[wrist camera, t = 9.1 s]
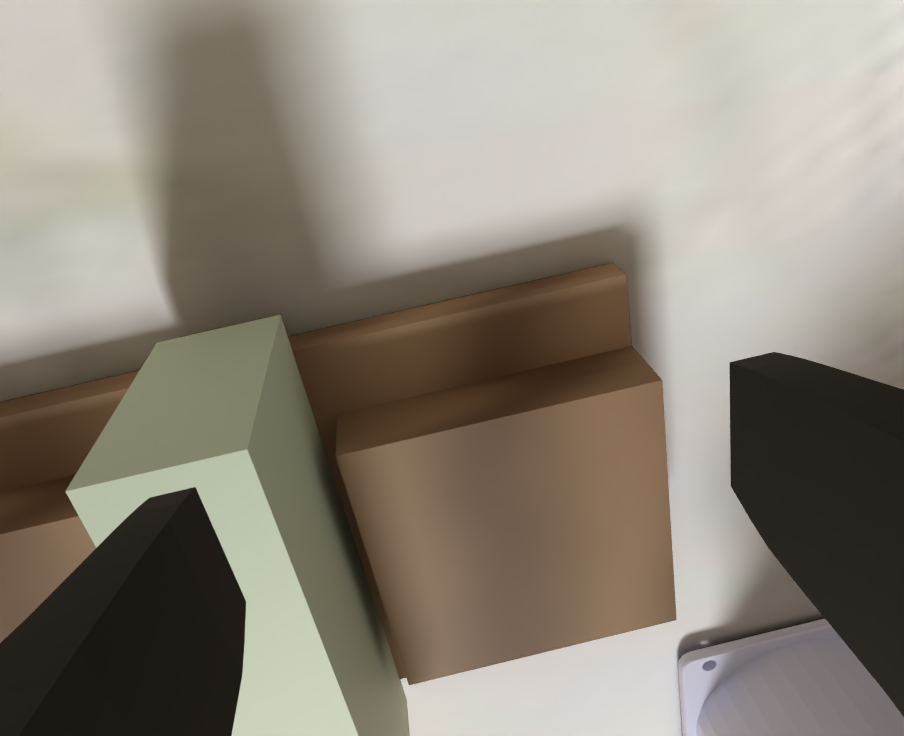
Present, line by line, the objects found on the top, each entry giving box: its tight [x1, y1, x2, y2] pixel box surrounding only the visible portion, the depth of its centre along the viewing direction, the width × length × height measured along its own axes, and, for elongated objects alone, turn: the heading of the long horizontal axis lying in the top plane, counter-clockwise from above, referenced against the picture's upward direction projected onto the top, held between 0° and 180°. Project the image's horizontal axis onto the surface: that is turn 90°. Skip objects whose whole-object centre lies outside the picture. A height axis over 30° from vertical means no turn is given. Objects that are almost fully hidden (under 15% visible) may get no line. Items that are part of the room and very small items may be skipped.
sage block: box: [65, 315, 410, 736], centre depth 17 cm, size 14×3×6 cm, turn 11°
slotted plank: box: [0, 263, 676, 685], centre depth 19 cm, size 20×12×3 cm, turn 101°
